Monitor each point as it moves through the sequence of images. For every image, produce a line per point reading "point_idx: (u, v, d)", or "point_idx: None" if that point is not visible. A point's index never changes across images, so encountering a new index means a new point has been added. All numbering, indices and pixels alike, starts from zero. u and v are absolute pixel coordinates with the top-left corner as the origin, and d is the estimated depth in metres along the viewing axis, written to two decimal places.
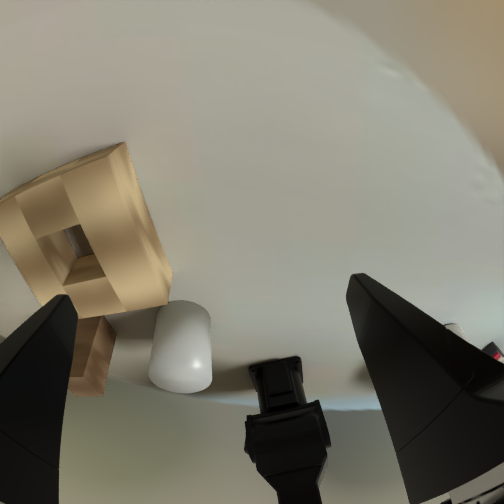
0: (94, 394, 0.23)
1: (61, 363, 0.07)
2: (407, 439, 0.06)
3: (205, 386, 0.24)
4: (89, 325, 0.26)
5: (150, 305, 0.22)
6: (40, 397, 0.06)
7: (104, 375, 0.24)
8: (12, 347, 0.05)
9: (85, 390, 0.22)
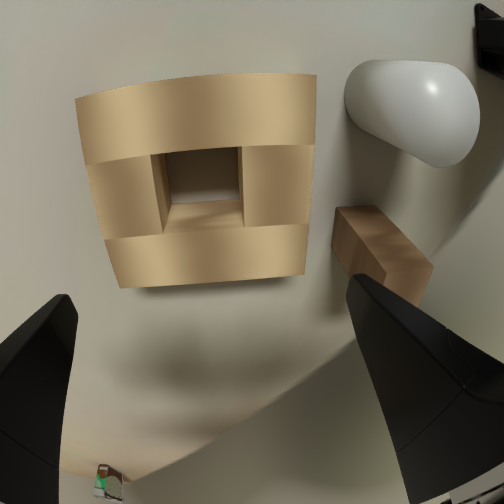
0: (425, 278, 0.15)
1: (61, 363, 0.07)
2: (407, 439, 0.06)
3: (473, 92, 0.10)
4: (341, 231, 0.20)
5: (312, 101, 0.13)
6: (40, 397, 0.06)
7: (410, 246, 0.16)
8: (12, 347, 0.05)
9: (412, 288, 0.15)
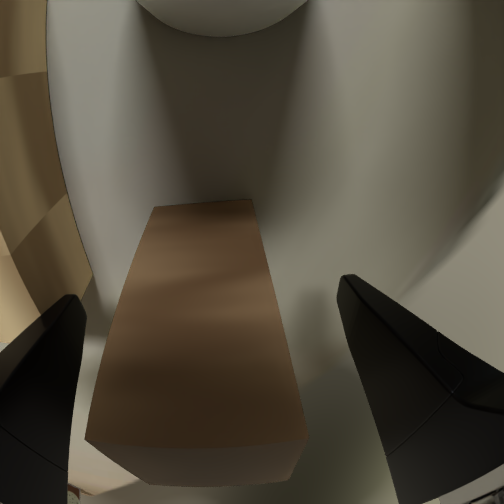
0: (279, 456, 0.04)
1: (70, 364, 0.07)
2: (397, 443, 0.06)
3: None
4: None
5: None
6: (49, 399, 0.06)
7: (261, 330, 0.05)
8: (21, 348, 0.05)
9: (236, 468, 0.04)
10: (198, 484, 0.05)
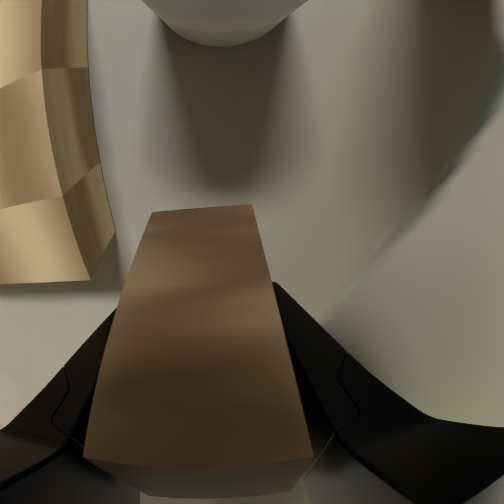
0: (282, 472, 0.04)
1: None
2: (307, 468, 0.05)
3: None
4: None
5: (36, 12, 0.05)
6: None
7: (263, 343, 0.05)
8: (97, 354, 0.05)
9: (238, 483, 0.04)
10: (199, 496, 0.05)
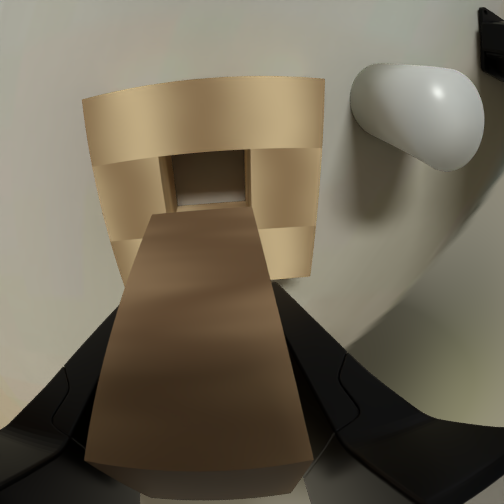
0: (282, 475, 0.04)
1: None
2: None
3: (477, 97, 0.10)
4: None
5: (320, 105, 0.13)
6: None
7: (263, 347, 0.05)
8: (97, 354, 0.05)
9: (239, 486, 0.04)
10: (200, 498, 0.05)
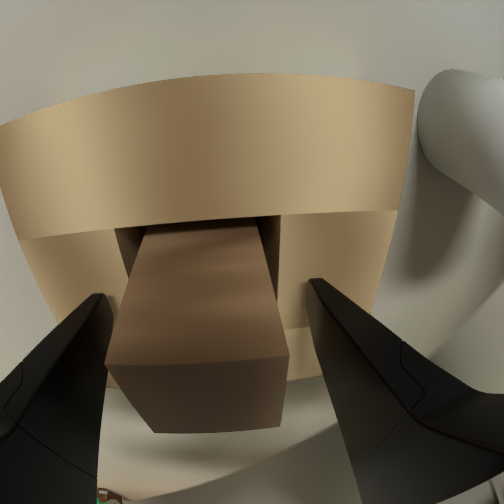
0: (267, 380, 0.05)
1: (99, 366, 0.07)
2: (360, 455, 0.06)
3: None
4: None
5: (404, 137, 0.07)
6: (80, 403, 0.06)
7: (251, 278, 0.07)
8: (50, 351, 0.05)
9: (232, 398, 0.06)
10: (199, 428, 0.07)
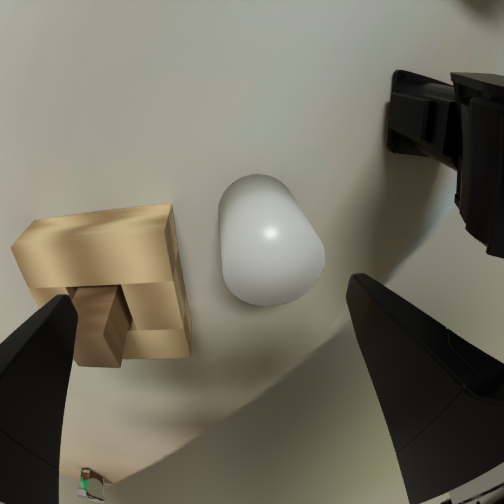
0: (101, 343, 0.16)
1: (61, 363, 0.07)
2: (408, 439, 0.06)
3: (312, 237, 0.15)
4: None
5: (164, 252, 0.18)
6: (40, 397, 0.06)
7: (104, 309, 0.17)
8: (12, 347, 0.05)
9: (95, 349, 0.16)
10: (92, 364, 0.17)
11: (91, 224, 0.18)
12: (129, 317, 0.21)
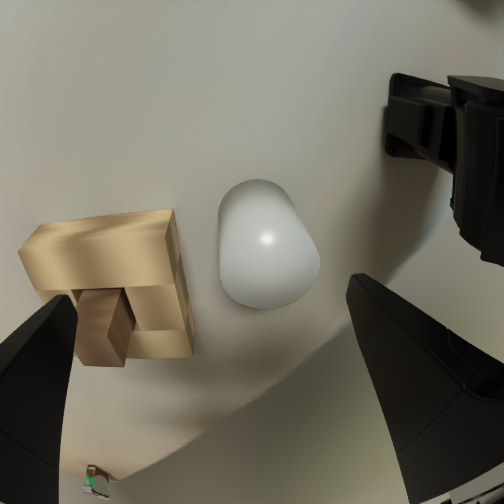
0: (105, 343, 0.17)
1: (61, 363, 0.07)
2: (407, 439, 0.06)
3: (307, 243, 0.15)
4: None
5: (165, 256, 0.18)
6: (40, 397, 0.06)
7: (108, 311, 0.18)
8: (12, 347, 0.05)
9: (99, 349, 0.17)
10: (96, 363, 0.18)
11: (95, 229, 0.19)
12: (133, 318, 0.22)
